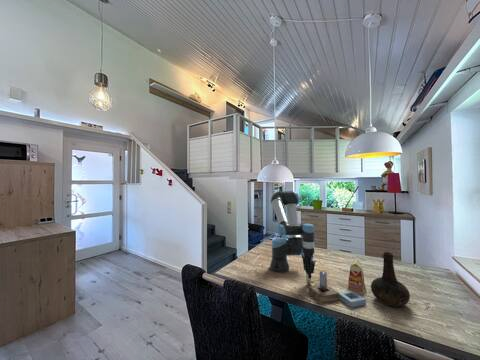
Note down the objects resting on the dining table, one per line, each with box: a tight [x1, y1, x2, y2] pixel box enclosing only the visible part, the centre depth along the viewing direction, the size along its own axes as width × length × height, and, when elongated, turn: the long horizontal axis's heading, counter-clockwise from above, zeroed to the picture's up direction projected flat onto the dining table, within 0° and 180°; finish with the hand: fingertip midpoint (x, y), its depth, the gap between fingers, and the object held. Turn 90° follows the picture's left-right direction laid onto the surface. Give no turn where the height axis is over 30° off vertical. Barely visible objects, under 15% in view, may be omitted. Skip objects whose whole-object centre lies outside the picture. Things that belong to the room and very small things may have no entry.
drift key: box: [306, 279, 316, 287], centre depth 132 cm, size 9×4×3 cm, turn 16°
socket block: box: [308, 283, 340, 304], centre depth 123 cm, size 12×12×4 cm
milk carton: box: [347, 257, 367, 295], centre depth 130 cm, size 9×9×20 cm
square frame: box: [338, 290, 367, 308], centre depth 118 cm, size 10×10×3 cm
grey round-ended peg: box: [319, 270, 328, 292], centre depth 123 cm, size 4×4×14 cm
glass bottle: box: [370, 251, 411, 308], centre depth 117 cm, size 18×18×28 cm
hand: (308, 282), depth 137 cm, fingers closed
